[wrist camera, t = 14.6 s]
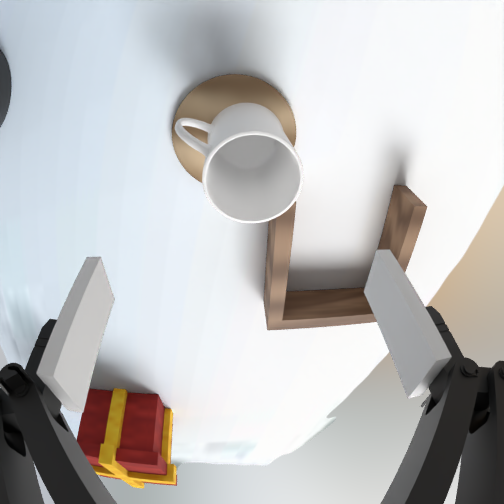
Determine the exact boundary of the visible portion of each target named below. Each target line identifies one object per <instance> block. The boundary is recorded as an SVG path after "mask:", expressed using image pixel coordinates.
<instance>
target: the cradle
mask: <svg viewBox="0 0 504 504" xmlns="http://www.w3.org/2000/svg"><path fill="white" fill-rule="evenodd" d="M295 209H296V201H295V202H294V204H293V205H292V206H291V207H290V208H289V209H288V210H287V211H285V212H284V213H283V214H281V215H280V216H278V217H276V218H274V219H271V220H269V224H268V241H267V257H266V273H265V288H264V308H265V316H266V323H267V330H282V329H299V328H314V327H327V326H339V325H350V324H361V323H370V322H377V321H376V318H375V316H374V314H373V311H372V309H371V307H370V305H369V302H368V300H367V298H366V296H365V294H364V289H365V287H364V288H347V289H329V290H309V291H286V288H287V280H288V272H289V263H290V255H291V246H292V237H293V228H294V219H295ZM426 209H427V206H426V205H425V204H424V203H423V202H422V201H421V200H420V199H419V198H418V197H417V196H416V195H415V194H414V193H413V192H412V191H411V190H410V189H409V188H408V187H407V186H402V185H394V188H393V192H392V197H391V201H390V205H389V209H388V213H387V217H386V220H385V224H384V228H383V232H382V235H381V239H380V243H379V246H378V250H389V249H390V251H391V252H392V254H393V255H394V257H395V258H396V260H397V261H398V263H399V265H400V266H401V268H402V269H403V271H404V273H405V271H406V269H407V266H408V263H409V260H410V258H411V255H412V252H413V249H414V246H415V243H416V241H417V238H418V235H419V232H420V228H421V225H422V222H423V219H424V216H425V213H426Z"/></svg>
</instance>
